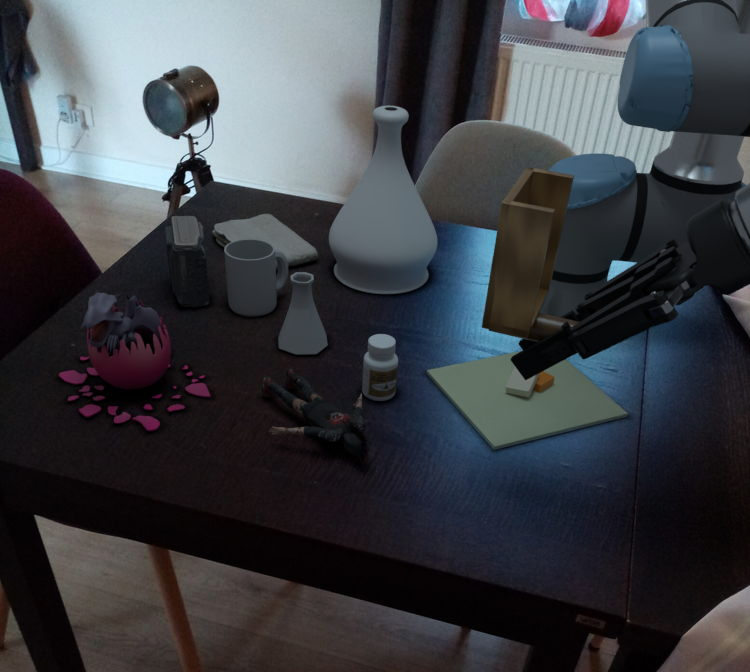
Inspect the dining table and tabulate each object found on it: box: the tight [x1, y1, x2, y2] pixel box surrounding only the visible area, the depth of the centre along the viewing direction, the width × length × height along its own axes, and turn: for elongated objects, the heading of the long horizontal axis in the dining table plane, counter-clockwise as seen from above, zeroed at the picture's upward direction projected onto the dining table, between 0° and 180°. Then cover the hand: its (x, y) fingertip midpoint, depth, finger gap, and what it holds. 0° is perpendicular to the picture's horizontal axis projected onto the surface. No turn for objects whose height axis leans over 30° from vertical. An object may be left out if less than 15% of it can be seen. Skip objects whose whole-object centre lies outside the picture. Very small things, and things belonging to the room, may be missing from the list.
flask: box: [277, 271, 329, 355], centre depth 107 cm, size 7×7×10 cm
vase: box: [328, 105, 439, 295], centre depth 120 cm, size 17×17×25 cm
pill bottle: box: [361, 333, 399, 402], centre depth 100 cm, size 4×4×8 cm
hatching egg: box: [58, 290, 212, 432], centre depth 96 cm, size 20×16×14 cm
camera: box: [164, 215, 210, 309], centre depth 117 cm, size 11×6×10 cm, turn 12°
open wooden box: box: [481, 166, 579, 342], centre depth 74 cm, size 15×10×10 cm
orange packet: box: [533, 371, 555, 393], centre depth 105 cm, size 4×3×1 cm
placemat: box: [426, 350, 629, 451], centre depth 103 cm, size 20×18×1 cm
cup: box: [223, 239, 289, 318], centre depth 116 cm, size 7×10×9 cm
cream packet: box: [505, 367, 540, 398], centre depth 103 cm, size 4×3×1 cm
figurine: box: [261, 367, 373, 467], centre depth 94 cm, size 13×6×20 cm
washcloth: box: [211, 213, 319, 271], centre depth 132 cm, size 12×18×3 cm, turn 35°
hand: (522, 360), depth 81 cm, fingers closed on open wooden box, 3 cm apart
